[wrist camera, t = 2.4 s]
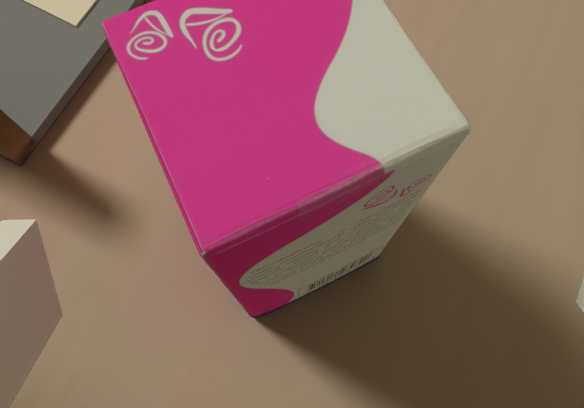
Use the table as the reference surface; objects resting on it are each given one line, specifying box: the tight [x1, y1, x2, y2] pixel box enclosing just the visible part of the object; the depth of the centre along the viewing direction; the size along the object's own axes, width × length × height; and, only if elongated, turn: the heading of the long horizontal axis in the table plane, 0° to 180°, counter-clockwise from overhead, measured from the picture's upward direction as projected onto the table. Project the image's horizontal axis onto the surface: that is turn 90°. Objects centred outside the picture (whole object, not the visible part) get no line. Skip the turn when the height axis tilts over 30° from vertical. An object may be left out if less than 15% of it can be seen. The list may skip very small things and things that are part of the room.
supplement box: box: [102, 0, 471, 318], centre depth 15 cm, size 6×6×12 cm
